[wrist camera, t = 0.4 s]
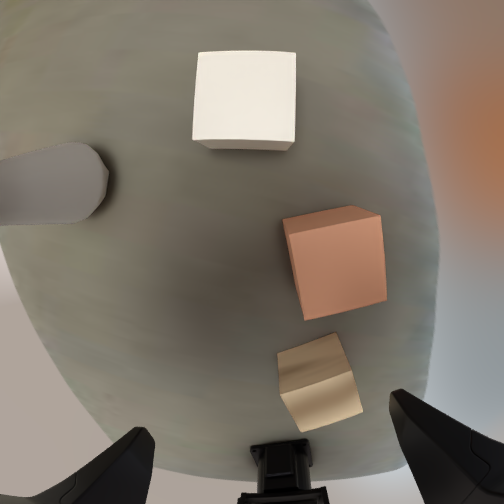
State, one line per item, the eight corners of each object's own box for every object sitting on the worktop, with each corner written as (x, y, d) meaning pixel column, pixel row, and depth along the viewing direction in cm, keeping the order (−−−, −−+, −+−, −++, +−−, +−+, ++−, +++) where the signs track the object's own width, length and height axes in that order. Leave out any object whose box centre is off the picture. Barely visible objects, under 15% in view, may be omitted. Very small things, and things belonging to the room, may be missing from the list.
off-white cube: (286, 150, 17) (294, 141, 13) (210, 148, 18) (192, 139, 13) (287, 82, 16) (295, 52, 11) (214, 81, 16) (198, 52, 11)
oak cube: (348, 373, 22) (363, 411, 17) (296, 391, 23) (301, 432, 18) (335, 331, 21) (351, 370, 16) (277, 352, 22) (279, 394, 17)
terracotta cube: (360, 271, 19) (386, 300, 15) (295, 286, 20) (304, 320, 15) (352, 204, 18) (380, 215, 13) (282, 219, 19) (288, 234, 14)
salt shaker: (130, 195, 18) (-17, 234, 6) (79, 229, 19) (-48, 286, 7) (102, 129, 17) (-39, 109, 5) (55, 168, 18) (-73, 185, 5)
